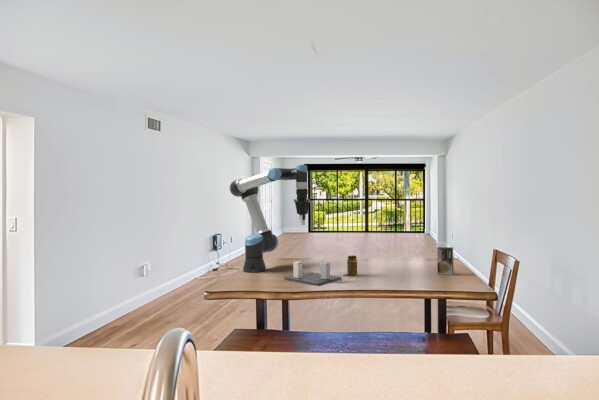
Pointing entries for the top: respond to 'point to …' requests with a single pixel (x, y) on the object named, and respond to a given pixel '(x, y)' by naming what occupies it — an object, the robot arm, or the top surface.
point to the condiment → (351, 267)
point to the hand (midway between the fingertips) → (302, 224)
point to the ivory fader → (297, 269)
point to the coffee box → (445, 260)
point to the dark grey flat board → (312, 279)
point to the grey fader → (325, 270)
